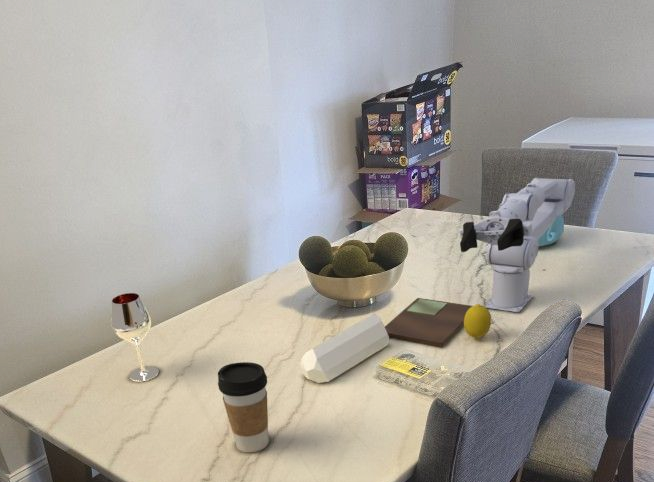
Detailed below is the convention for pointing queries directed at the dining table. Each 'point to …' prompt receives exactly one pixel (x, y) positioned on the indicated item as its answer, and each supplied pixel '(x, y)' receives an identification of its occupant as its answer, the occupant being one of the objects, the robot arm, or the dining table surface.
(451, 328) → the board
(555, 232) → the decorative pot
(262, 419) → the coffee cup
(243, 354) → the dining table surface
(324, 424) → the dining table surface
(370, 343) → the crystal
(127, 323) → the wineglass
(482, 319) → the lemon
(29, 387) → the dining table surface
